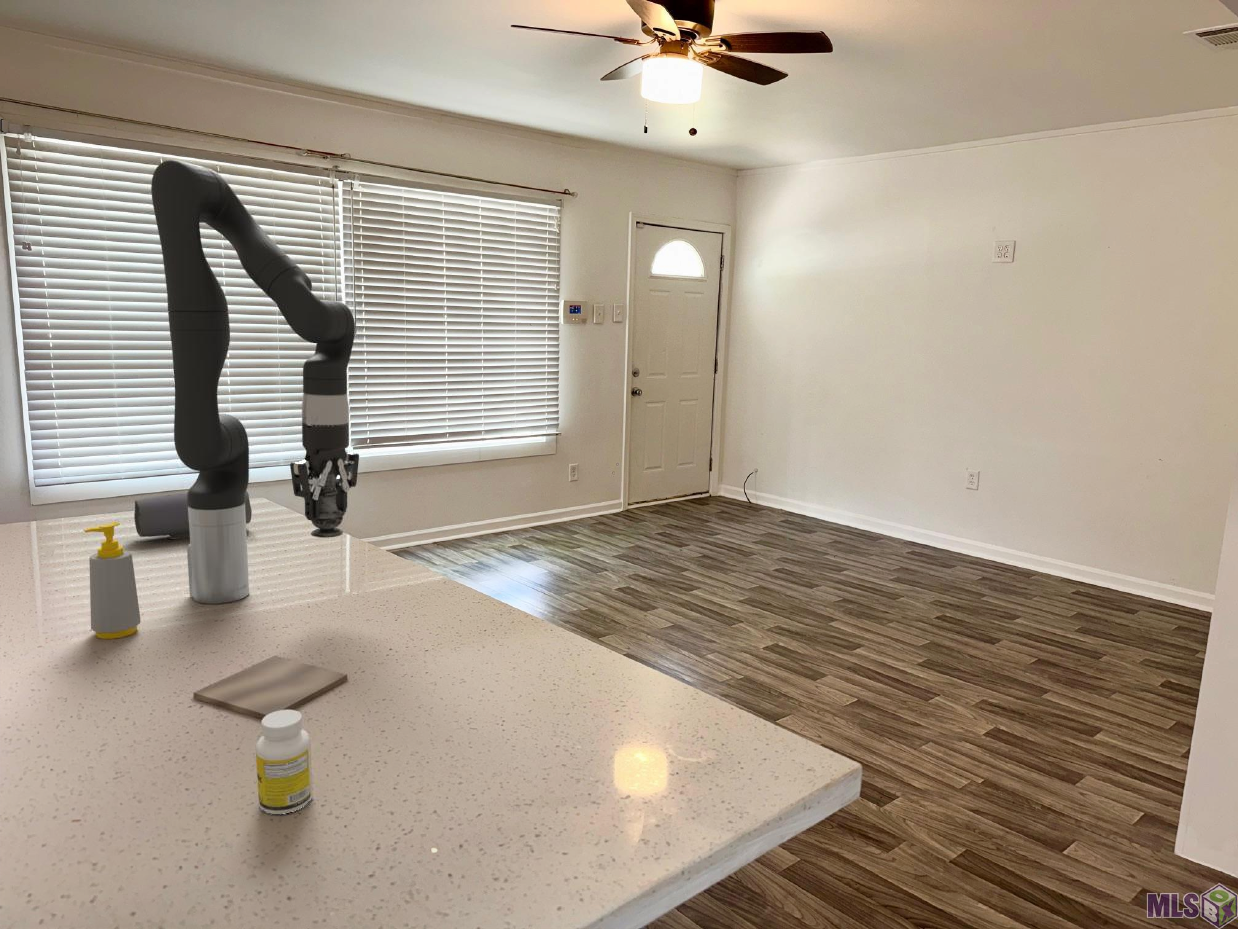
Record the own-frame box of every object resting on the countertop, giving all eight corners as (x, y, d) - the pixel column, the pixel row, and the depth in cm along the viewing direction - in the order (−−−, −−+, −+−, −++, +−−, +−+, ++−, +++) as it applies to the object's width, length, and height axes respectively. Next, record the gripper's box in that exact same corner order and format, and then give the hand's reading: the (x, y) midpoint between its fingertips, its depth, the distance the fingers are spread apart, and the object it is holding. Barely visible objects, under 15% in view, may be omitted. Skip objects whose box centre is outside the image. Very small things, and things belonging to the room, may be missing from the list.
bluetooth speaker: (241, 523, 199) (240, 483, 197) (253, 532, 192) (251, 490, 190) (135, 537, 184) (132, 494, 182) (143, 546, 177) (140, 502, 175)
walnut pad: (193, 698, 110) (193, 692, 110) (275, 660, 123) (274, 655, 123) (270, 721, 105) (270, 716, 105) (347, 679, 117) (347, 674, 117)
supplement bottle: (268, 788, 90) (264, 706, 89) (318, 787, 91) (316, 705, 89) (250, 817, 85) (246, 731, 83) (304, 816, 86) (301, 730, 84)
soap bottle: (81, 635, 130) (72, 525, 126) (125, 621, 136) (117, 516, 132) (107, 644, 126) (98, 532, 123) (150, 630, 133) (143, 523, 129)
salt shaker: (350, 530, 144) (350, 464, 142) (335, 539, 138) (335, 470, 136) (318, 527, 145) (317, 461, 143) (302, 536, 139) (301, 467, 137)
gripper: (338, 414, 146) (339, 505, 149) (275, 421, 133) (277, 521, 136) (372, 418, 143) (372, 511, 146) (310, 426, 130) (312, 528, 133)
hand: (326, 515), depth 141 cm, fingers closed on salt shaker, 6 cm apart
